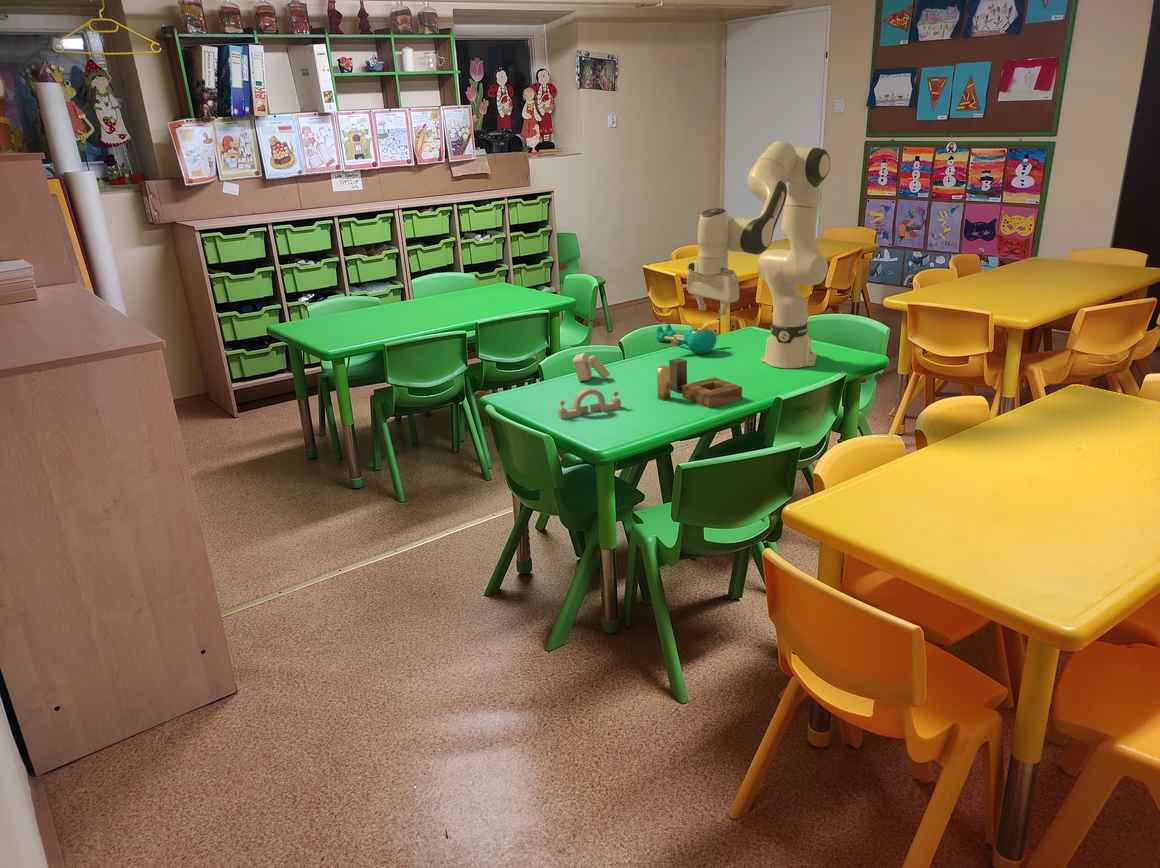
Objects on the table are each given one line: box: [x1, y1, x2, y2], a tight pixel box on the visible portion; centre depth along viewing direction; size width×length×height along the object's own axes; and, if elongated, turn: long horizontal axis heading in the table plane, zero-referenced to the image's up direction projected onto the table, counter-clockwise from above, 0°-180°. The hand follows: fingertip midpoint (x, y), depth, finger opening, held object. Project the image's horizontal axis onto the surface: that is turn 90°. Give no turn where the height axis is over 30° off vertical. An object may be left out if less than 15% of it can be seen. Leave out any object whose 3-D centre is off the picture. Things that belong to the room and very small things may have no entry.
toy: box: [656, 323, 720, 355], centre depth 308 cm, size 22×10×30 cm
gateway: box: [557, 387, 622, 420], centre depth 244 cm, size 20×2×8 cm, turn 112°
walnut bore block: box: [681, 376, 743, 409], centre depth 251 cm, size 13×13×4 cm
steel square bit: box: [668, 357, 688, 394], centre depth 259 cm, size 4×4×10 cm
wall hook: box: [572, 352, 611, 383], centre depth 275 cm, size 8×10×10 cm
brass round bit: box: [656, 365, 671, 401], centre depth 252 cm, size 4×4×10 cm
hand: (712, 312), depth 242 cm, fingers open, 8 cm apart
